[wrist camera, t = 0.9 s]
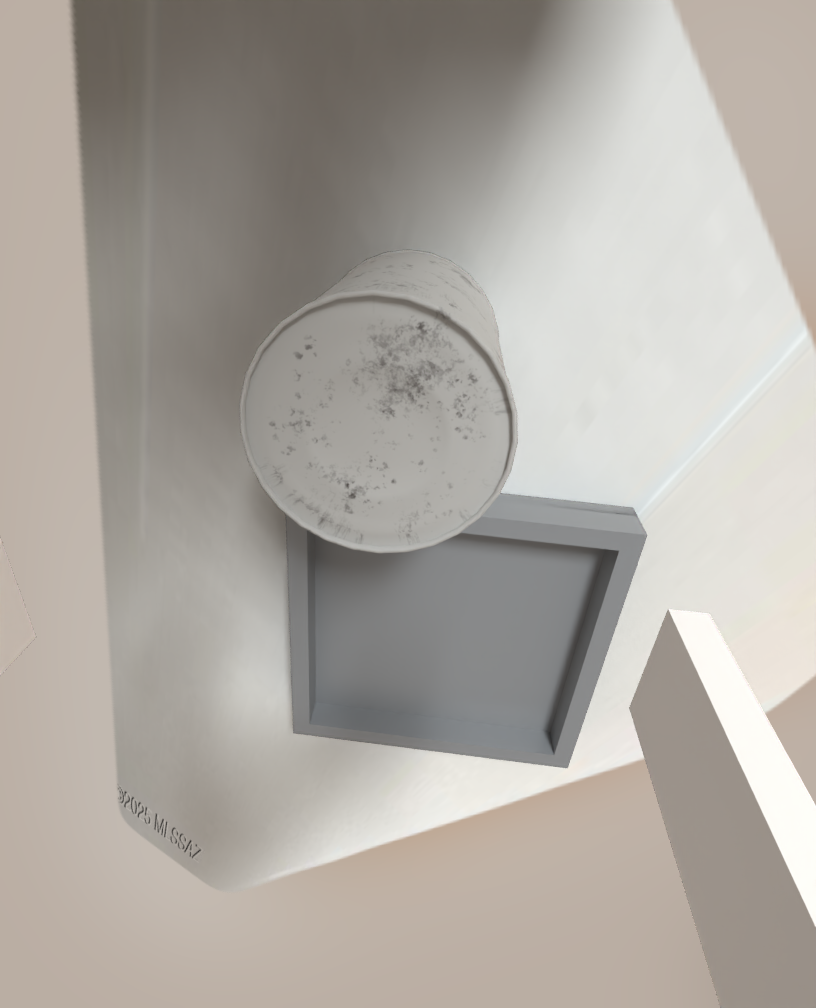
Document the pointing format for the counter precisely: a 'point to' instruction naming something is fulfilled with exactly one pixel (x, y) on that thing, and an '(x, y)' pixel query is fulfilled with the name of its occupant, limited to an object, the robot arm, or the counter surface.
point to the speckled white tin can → (383, 407)
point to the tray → (462, 631)
